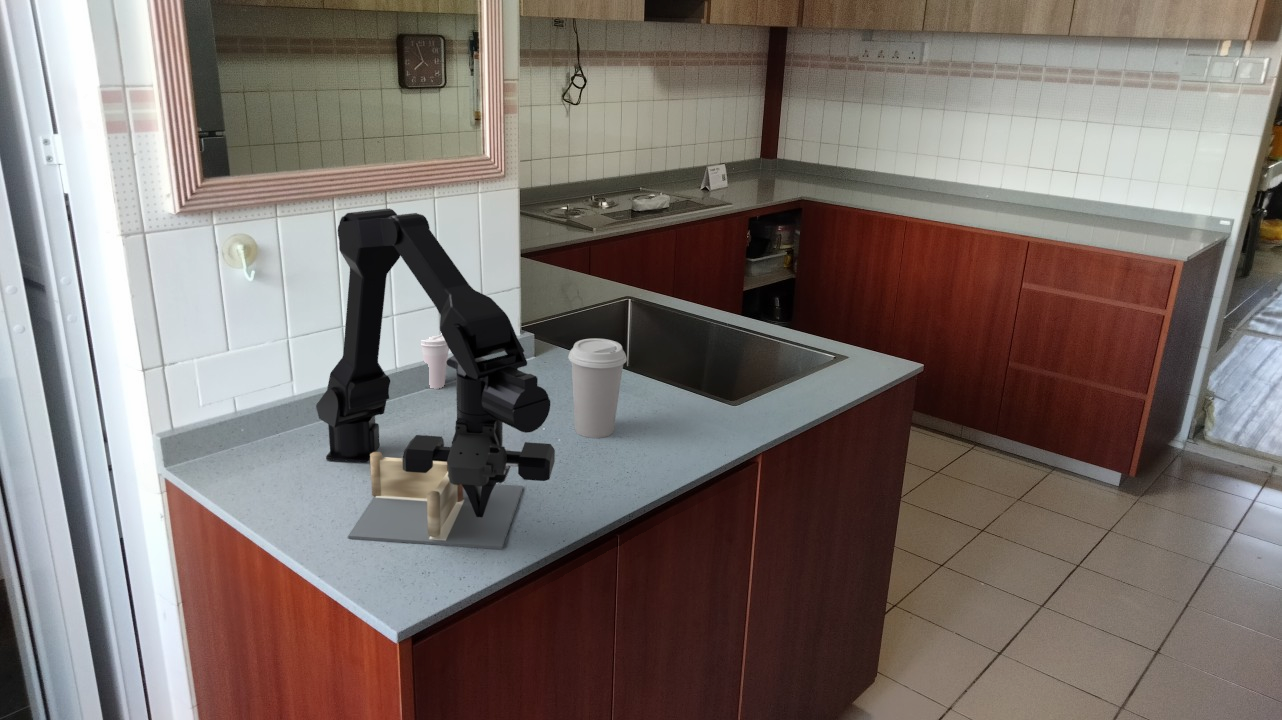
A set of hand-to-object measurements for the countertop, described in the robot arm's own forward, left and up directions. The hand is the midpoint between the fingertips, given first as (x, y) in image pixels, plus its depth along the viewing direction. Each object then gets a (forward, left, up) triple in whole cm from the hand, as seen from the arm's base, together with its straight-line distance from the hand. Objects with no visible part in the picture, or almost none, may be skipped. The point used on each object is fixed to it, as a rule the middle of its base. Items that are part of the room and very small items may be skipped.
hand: (480, 515), depth 123 cm
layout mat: (-7, +5, -3) cm, 9 cm away
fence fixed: (-11, +8, -2) cm, 13 cm away
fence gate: (-5, +2, -2) cm, 6 cm away
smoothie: (-19, +51, -3) cm, 55 cm away
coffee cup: (+12, +36, -3) cm, 38 cm away
